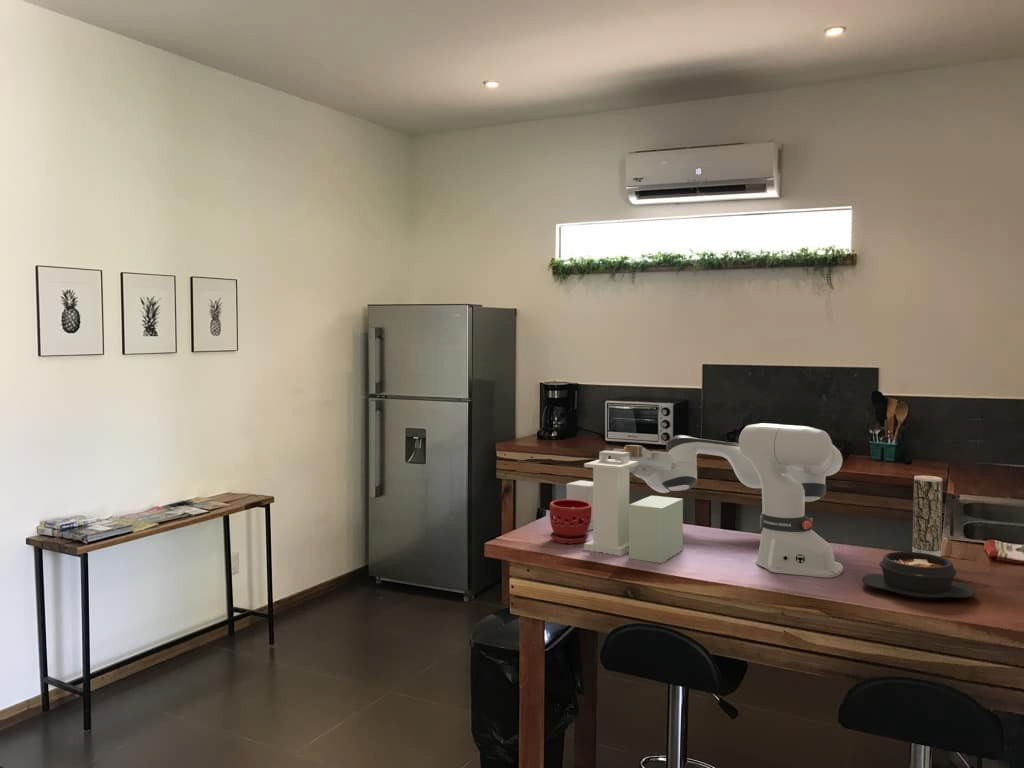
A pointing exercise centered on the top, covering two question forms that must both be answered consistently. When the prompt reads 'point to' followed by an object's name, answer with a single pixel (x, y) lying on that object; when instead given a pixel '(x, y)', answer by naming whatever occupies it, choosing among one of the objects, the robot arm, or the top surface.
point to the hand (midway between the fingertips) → (633, 449)
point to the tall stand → (610, 503)
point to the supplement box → (581, 494)
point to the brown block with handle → (633, 451)
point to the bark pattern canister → (927, 515)
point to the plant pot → (570, 520)
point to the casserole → (918, 576)
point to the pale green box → (655, 528)
